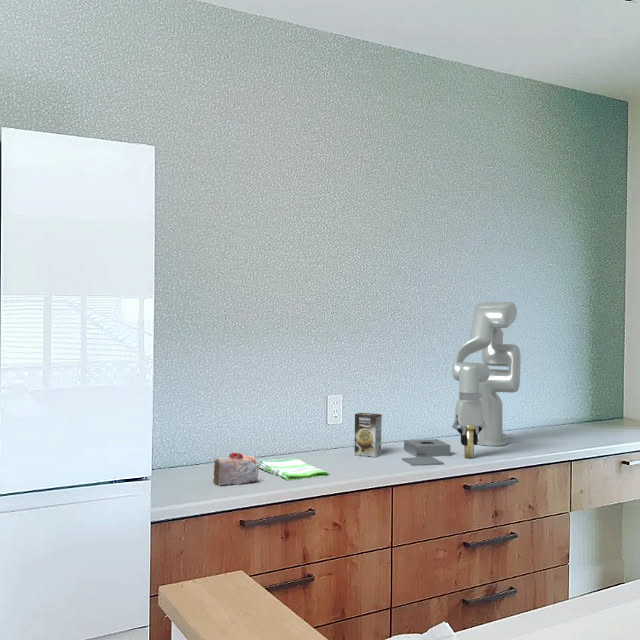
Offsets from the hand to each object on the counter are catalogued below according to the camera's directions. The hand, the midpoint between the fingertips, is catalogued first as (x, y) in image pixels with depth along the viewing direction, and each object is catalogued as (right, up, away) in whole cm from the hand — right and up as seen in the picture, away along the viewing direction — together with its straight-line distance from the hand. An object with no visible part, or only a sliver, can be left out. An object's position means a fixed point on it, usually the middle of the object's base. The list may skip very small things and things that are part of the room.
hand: (469, 444), depth 272 cm
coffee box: (-38, -5, +5) cm, 39 cm away
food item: (-84, -6, -41) cm, 94 cm away
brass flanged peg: (0, -5, 0) cm, 5 cm away
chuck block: (-15, -5, +10) cm, 18 cm away
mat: (-19, -5, -8) cm, 21 cm away
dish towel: (-66, -6, -24) cm, 71 cm away
